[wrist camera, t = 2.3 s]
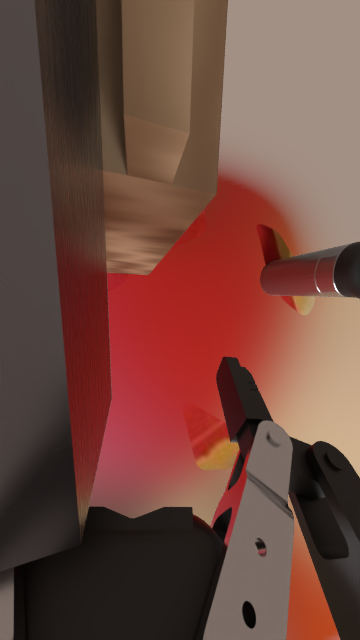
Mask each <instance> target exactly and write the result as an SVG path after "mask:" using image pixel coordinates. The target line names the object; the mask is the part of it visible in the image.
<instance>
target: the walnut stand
mask: <svg viewBox="0 0 360 640" xmlns="http://www.w3.org/2000/svg"><path fill="white" fill-rule="evenodd" d="M227 6H228V0H96V8H97V33H98V59H99V84H100V110H101V135H102V161H103V186H104V211H105V237H106V262H107V272H109V273H127V274H144V275H145V274H146V275H148V274H150V272H151V271H152V270H153V269H154V268H155V266H156V265H157V264H158V263H159V262H160V260H161V259H162V258H163V257H164V256H165V254H166V253H167V252H168V251H169V250H170V249H171V247H172V246H173V245H174V244H175V243H176V241H177V240H178V239H179V238H180V237H181V235H182V234H183V233H184V232H185V231H186V230H187V228H188V227H189V226H190V225H191V224H192V222H193V221H194V220H195V219H196V218H197V216H198V215H199V214H200V213H201V212H202V210H203V209H204V208H205V207H206V206H207V204H208V203H209V202H210V201H211V199H212V198H213V197H214V196H215V195H216V192H217V175H218V157H219V141H220V124H221V108H222V91H223V90H222V89H223V74H224V56H225V40H226V23H227Z"/></svg>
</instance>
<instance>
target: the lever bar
mask: <svg viewBox="0 0 360 640" xmlns="http://www.w3.org/2000/svg"><path fill="white" fill-rule="evenodd" d="M108 316H109V314H108V288H107V262H106V237H105V211H104V186H103V161H102V135H101V110H100V84H99V59H98V33H97V8H96V0H0V572H1V571H4V570H7V569H10V568H13V567H16V566H19V565H22V564H25V563H28V562H31V561H34V560H37V559H40V558H43V557H46V556H49V555H52V554H55V553H58V552H61V551H64V550H67V549H70V548H73V547H76V546H79V545H81V542H82V538H83V533H84V528H85V523H86V519H87V514H88V509H89V504H90V499H91V494H92V490H93V485H94V480H95V476H96V471H97V466H98V462H99V457H100V452H101V447H102V442H103V438H104V433H105V428H106V424H107V419H108V414H109V410H110V404H111V400H112V390H111V367H110V366H111V364H110V339H109V317H108Z"/></svg>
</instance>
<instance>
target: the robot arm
mask: <svg viewBox="0 0 360 640" xmlns="http://www.w3.org/2000/svg"><path fill="white" fill-rule="evenodd" d="M260 281H261V286H262V288H263V290H264V291H265V292H266V293H268V294H269V295H284V296H321V297H322V296H323V297H356V298H359V299H360V242H356V243H352V244H347V245H343V246H338V247H334V248H330V249H325V250H321V251H316V252H311V253H307V254H302V255H298V256H293V257H289V258H284V259H279V260H275V261H271V262H269V263H268V264H267V265H266V266H265V267H264V268H263V270H262V273H261V277H260ZM216 380H217V386H218V391H219V395H220V399H221V403H222V408H223V411H224V416H225V420H226V425H227V429H228V433H229V437H230V441H231V442H236V443H238V444H239V448H240V450H239V452H238V455H237V457H236V460H235V463H234V466H233V469H232V472H231V475H230V477H229V480H228V483H227V486H226V489H225V491H224V493H223V496H222V497H221V499H220V502H219V503H218V506H217V508H216V511H215V513H214V516H213V519H212V522H211V524H210V526H209V525H208V524H207V523H206V522H205V521H204V520H202V519H201V518H199V517H197V516H195V515H193V513H192V507H163V508H160V509H158V510H155V511H153V512H150V513H148V514H145V515H143V516H140V517H137V518H134V519H132V518H128V517H126V516H124V515H122V514H119V513H117V512H115V511H112V510H110V509H108V508H105V507H89V509H88V514H87V519H86V523H85V528H84V533H83V538H82V542H81V545H79V546H76V547H73V548H70V549H67V550H64V551H61V552H58V553H55V554H52V555H49V556H46V557H43V558H40V559H37V560H34V561H31V562H28V563H25V564H22V565H19V566H16V567H13V568H10V569H7V570H4V571H1V572H0V640H286V632H287V618H288V603H289V590H290V577H291V562H292V548H293V535H294V517H293V513H292V511H291V510H290V509H289V507H288V501H287V500H288V494H289V497H290V500H291V503H292V505H293V508H294V511H295V514H296V516H297V519H298V522H299V525H300V528H301V531H302V533H303V536H304V539H305V541H306V544H307V547H308V550H309V553H310V556H311V558H312V561H313V564H314V566H315V569H316V572H317V575H318V578H319V581H320V583H321V586H322V589H323V592H324V595H325V598H326V600H327V603H328V606H329V609H330V611H331V614H332V617H333V620H334V623H335V625H336V628H337V631H338V634H339V637H340V639H341V640H360V478H359V476H358V475H357V473H356V472H355V470H354V469H353V467H352V465H351V464H350V462H349V461H348V460H347V458H346V457H345V456H344V455H343V454H342V453H341V452H340V451H339V450H338V449H337V448H335V447H334V446H332V445H330V444H329V443H326V442H323V441H318V442H316V443H314V444H313V445H309V444H307V443H304V442H302V441H299V440H297V439H294V438H292V437H289V436H288V434H287V433H286V432H285V430H284V429H283V428H281V427H280V426H279V425H278V424H276V423H274V422H273V420H272V418H271V416H270V414H269V411H268V409H267V407H266V405H265V403H264V401H263V398H262V396H261V394H260V392H259V391H258V388H257V385H256V384H255V381H254V379H253V377H252V375H251V373H250V372H249V371H248V370H247V369H246V368H245V367H241V366H240V364H239V362H238V359H237V358H233V357H223V358H222V361H221V364H220V366H219V369H218V372H217V377H216Z"/></svg>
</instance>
